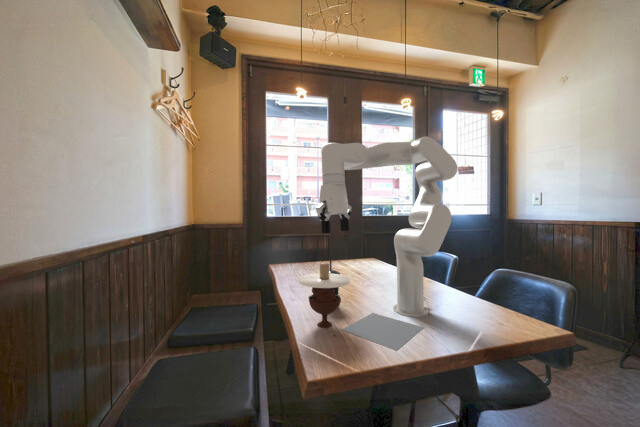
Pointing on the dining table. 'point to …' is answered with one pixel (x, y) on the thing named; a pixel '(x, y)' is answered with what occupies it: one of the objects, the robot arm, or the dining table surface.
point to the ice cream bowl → (324, 303)
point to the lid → (324, 279)
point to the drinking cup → (334, 273)
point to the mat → (383, 330)
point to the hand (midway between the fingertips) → (335, 232)
